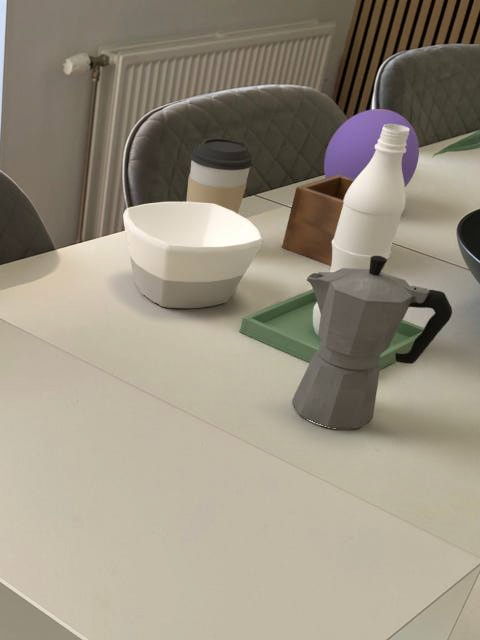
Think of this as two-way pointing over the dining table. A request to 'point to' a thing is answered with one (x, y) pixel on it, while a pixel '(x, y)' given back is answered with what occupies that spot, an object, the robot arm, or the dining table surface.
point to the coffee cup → (219, 173)
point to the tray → (311, 329)
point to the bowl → (189, 252)
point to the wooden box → (316, 217)
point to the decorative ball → (367, 144)
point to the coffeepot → (360, 340)
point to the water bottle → (371, 208)
